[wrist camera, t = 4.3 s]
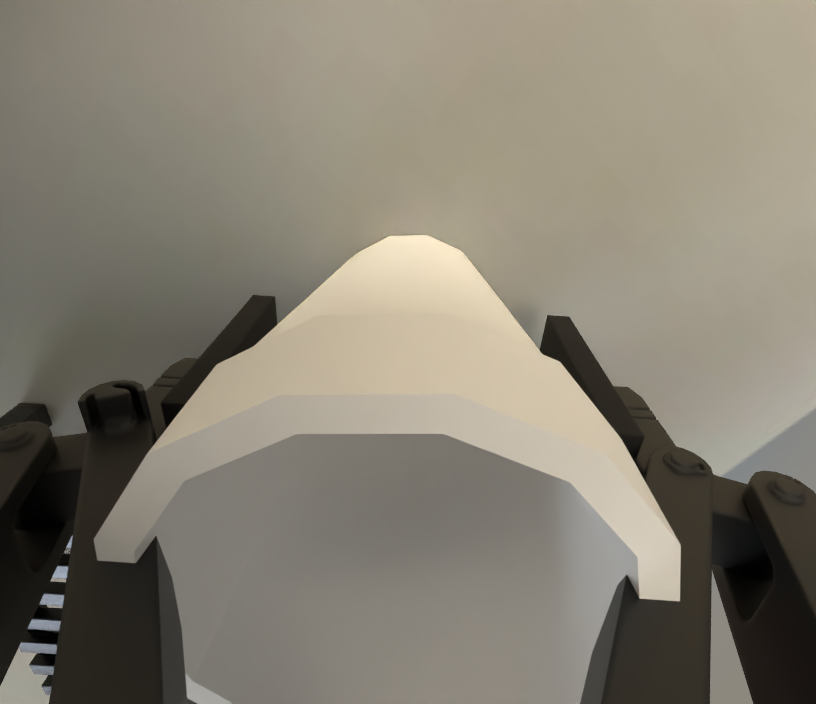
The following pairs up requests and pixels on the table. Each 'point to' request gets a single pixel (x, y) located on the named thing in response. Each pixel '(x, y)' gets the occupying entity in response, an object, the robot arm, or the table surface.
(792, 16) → the table surface
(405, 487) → the foam cup
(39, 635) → the rack
